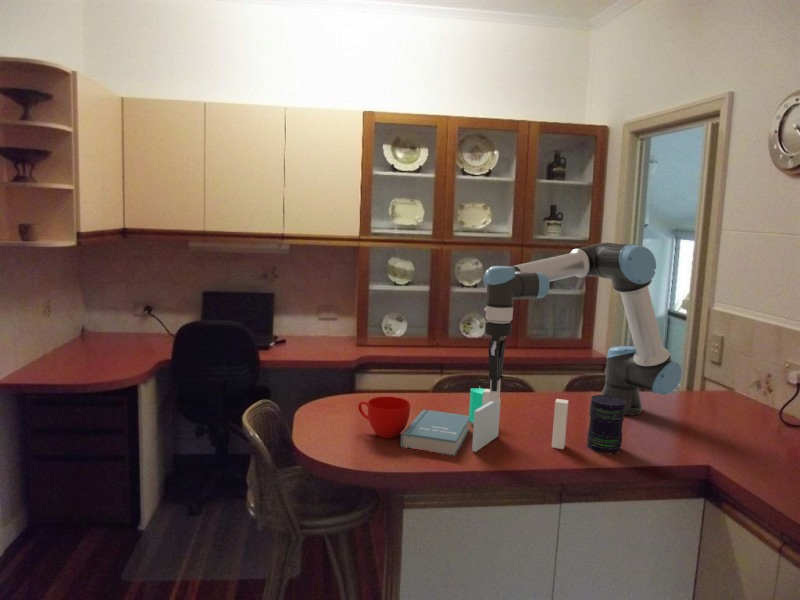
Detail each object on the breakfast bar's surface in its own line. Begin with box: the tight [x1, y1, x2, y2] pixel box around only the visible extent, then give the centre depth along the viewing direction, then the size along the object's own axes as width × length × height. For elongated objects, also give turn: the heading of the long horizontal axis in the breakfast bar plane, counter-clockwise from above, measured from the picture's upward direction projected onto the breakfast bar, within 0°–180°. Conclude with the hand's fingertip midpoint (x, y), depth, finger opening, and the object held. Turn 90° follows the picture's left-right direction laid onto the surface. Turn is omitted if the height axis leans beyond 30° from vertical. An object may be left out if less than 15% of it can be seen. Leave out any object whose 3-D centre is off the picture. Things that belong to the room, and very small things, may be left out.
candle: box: [468, 386, 486, 424], centre depth 198 cm, size 6×6×12 cm
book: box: [400, 409, 471, 457], centre depth 182 cm, size 23×16×5 cm
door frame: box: [482, 388, 570, 450], centre depth 182 cm, size 25×4×14 cm, turn 69°
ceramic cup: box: [358, 396, 411, 439], centre depth 184 cm, size 13×17×10 cm
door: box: [470, 397, 501, 453], centre depth 178 cm, size 16×3×12 cm, turn 148°
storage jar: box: [586, 394, 626, 454], centre depth 179 cm, size 10×10×15 cm
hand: (494, 400), depth 174 cm, fingers closed
